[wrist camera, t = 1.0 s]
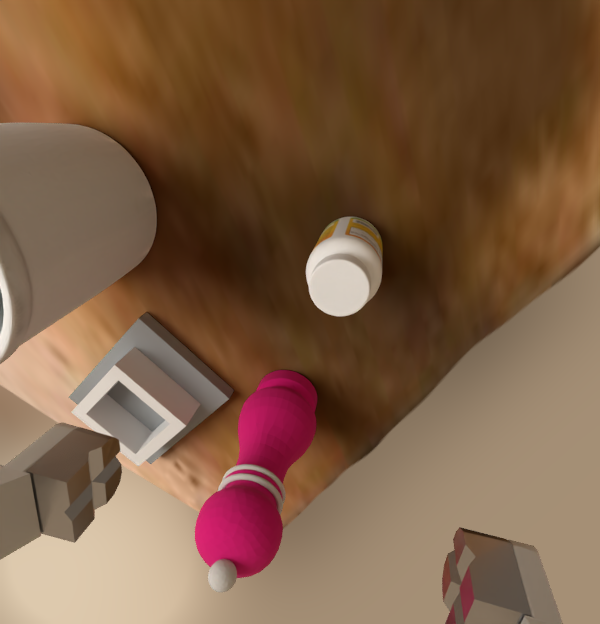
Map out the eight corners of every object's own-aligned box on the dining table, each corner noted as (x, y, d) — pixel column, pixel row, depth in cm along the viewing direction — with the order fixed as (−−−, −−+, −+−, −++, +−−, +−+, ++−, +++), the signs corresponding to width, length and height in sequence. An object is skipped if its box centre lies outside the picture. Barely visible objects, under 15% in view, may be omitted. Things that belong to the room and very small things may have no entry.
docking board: (77, 389, 49) (46, 417, 44) (146, 311, 42) (118, 334, 38) (156, 455, 51) (134, 487, 46) (234, 390, 44) (216, 420, 40)
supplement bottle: (324, 280, 37) (305, 329, 29) (314, 220, 35) (290, 254, 27) (386, 273, 36) (385, 323, 27) (379, 211, 34) (376, 243, 25)
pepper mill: (275, 351, 41) (191, 529, 24) (336, 391, 42) (298, 593, 24) (241, 398, 45) (144, 585, 27) (298, 434, 45) (240, 641, 27)
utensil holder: (151, 304, 42) (11, 416, 26) (14, 250, 42) (-204, 329, 27) (178, 156, 35) (12, 187, 20) (16, 93, 36) (-275, 75, 20)
